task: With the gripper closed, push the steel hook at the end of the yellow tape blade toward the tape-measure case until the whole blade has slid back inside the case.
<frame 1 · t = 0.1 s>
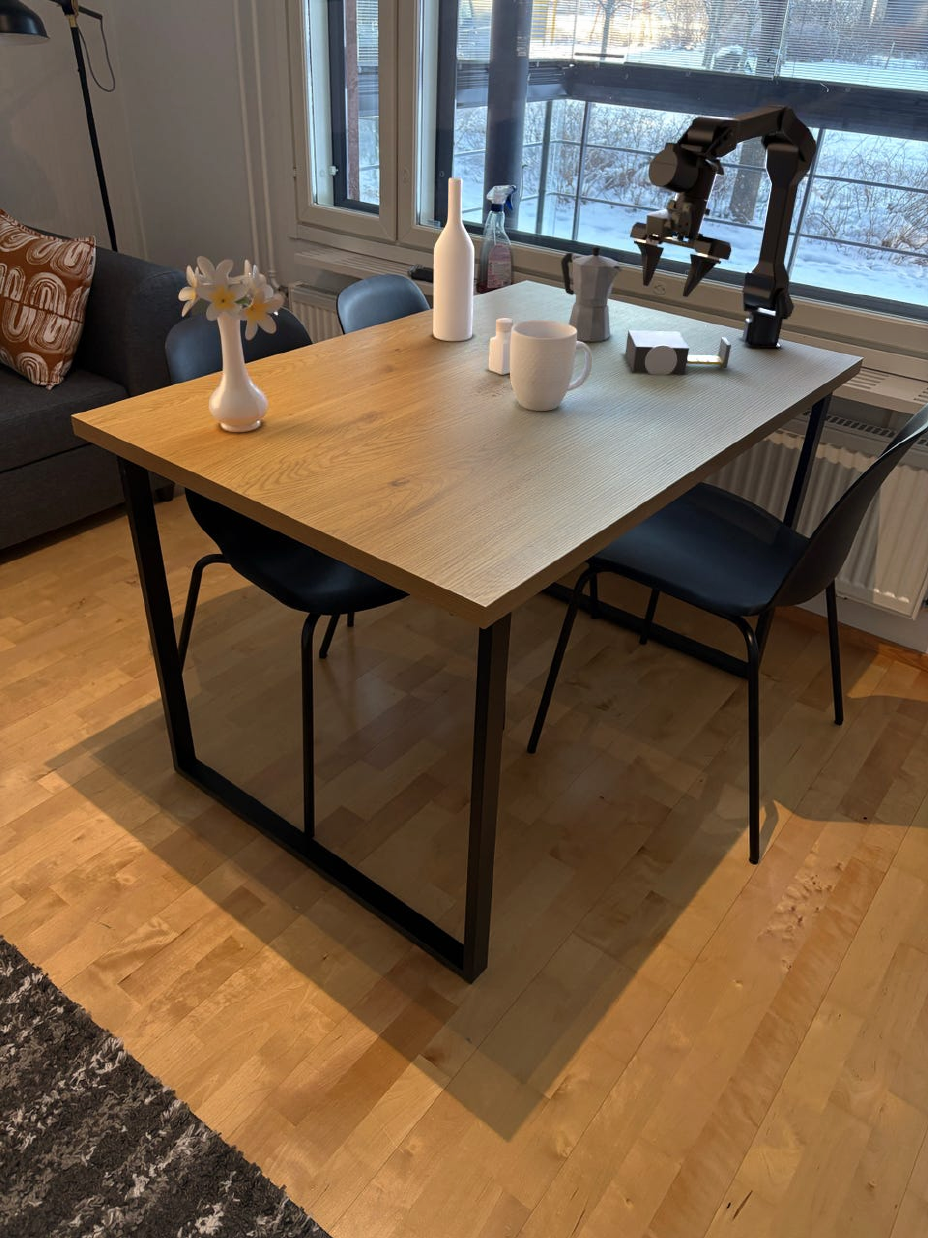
hand: (664, 290, 164), 15 cm above the table, tool pointing down, fingers open, 9 cm apart
coffeepot: (583, 335, 193), on the table
bottle: (452, 336, 190), on the table
flower vase: (245, 426, 146), on the table
pepper shaker: (502, 372, 172), on the table
mug: (544, 405, 158), on the table
tape case: (654, 364, 178), on the table
tape blade: (701, 352, 176), point 3 cm above the table, slide at 7.5 cm
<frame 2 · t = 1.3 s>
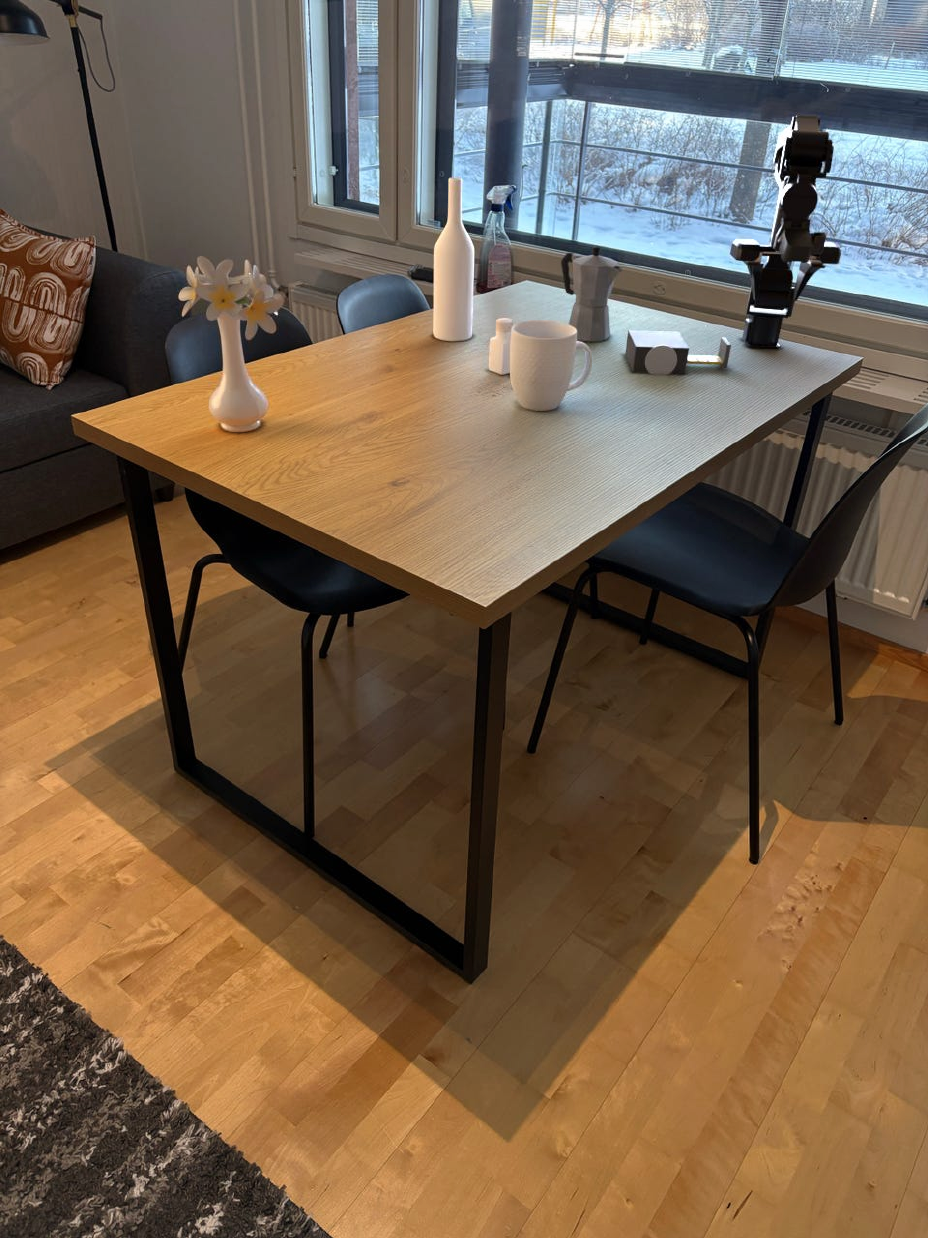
hand: (774, 299, 170), 13 cm above the table, tool pointing down, fingers open, 7 cm apart
nothing on the table moved.
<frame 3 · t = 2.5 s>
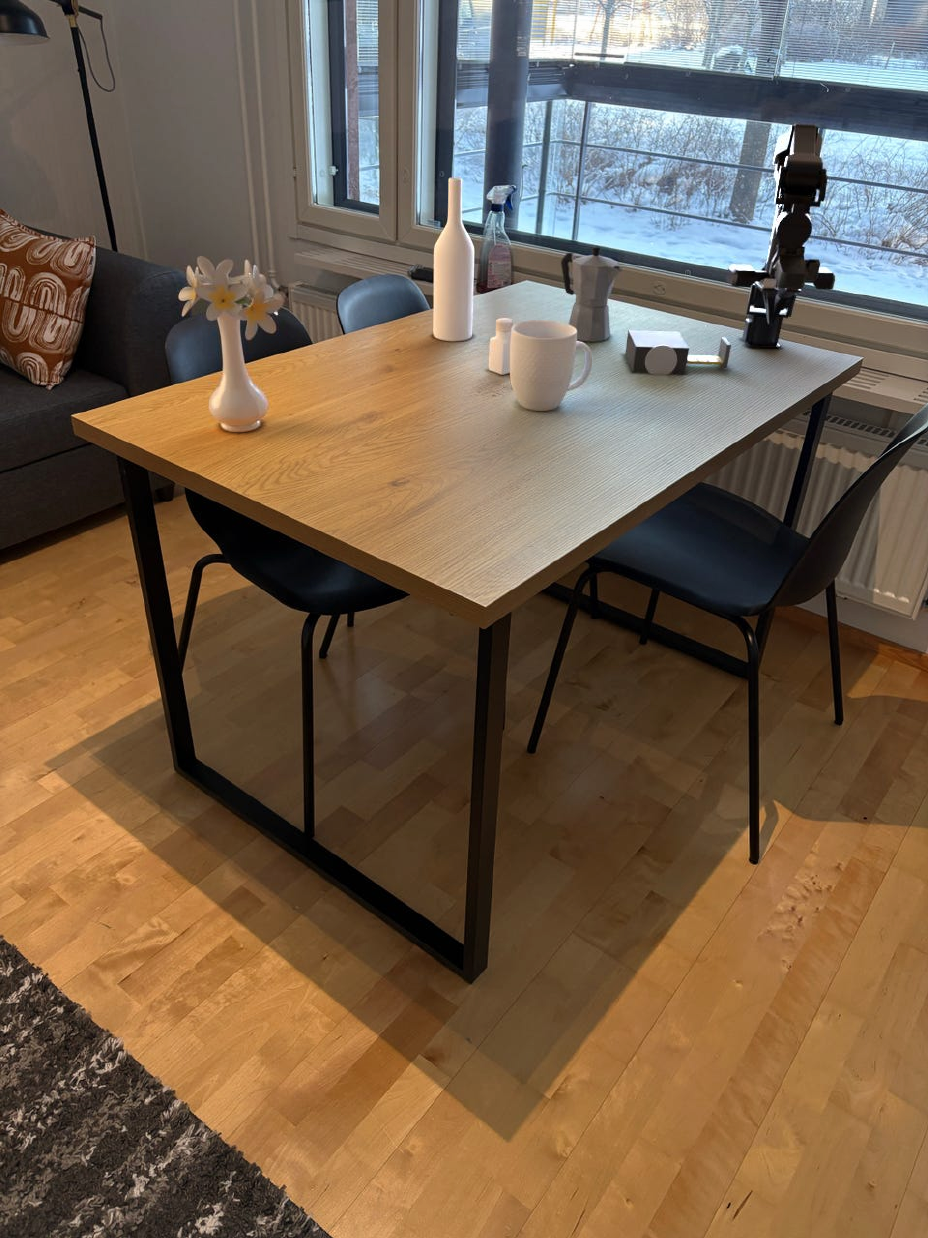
hand: (770, 323, 173), 8 cm above the table, tool pointing down, fingers closed
nothing on the table moved.
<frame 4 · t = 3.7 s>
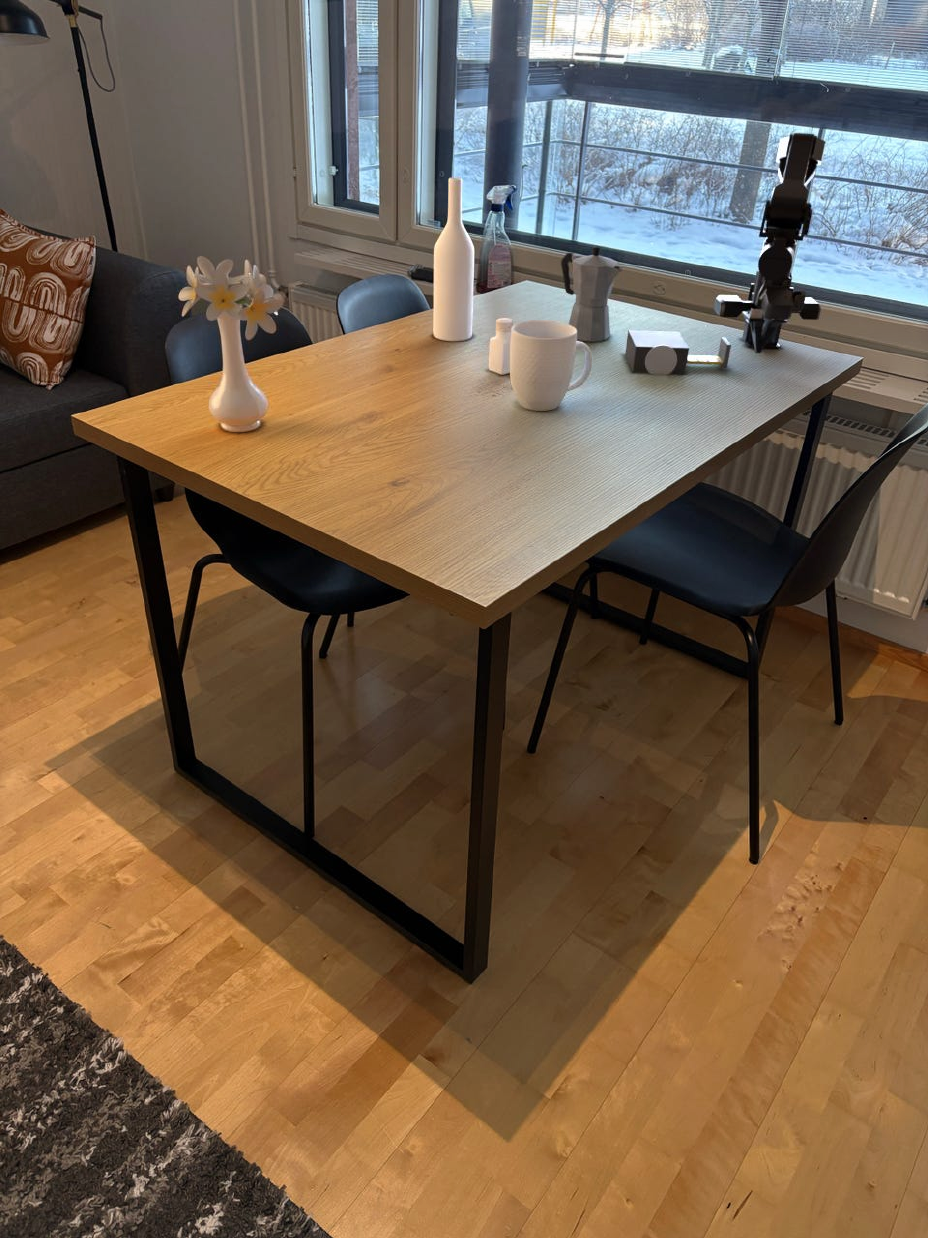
hand: (757, 352, 176), 3 cm above the table, tool pointing down, fingers closed
nothing on the table moved.
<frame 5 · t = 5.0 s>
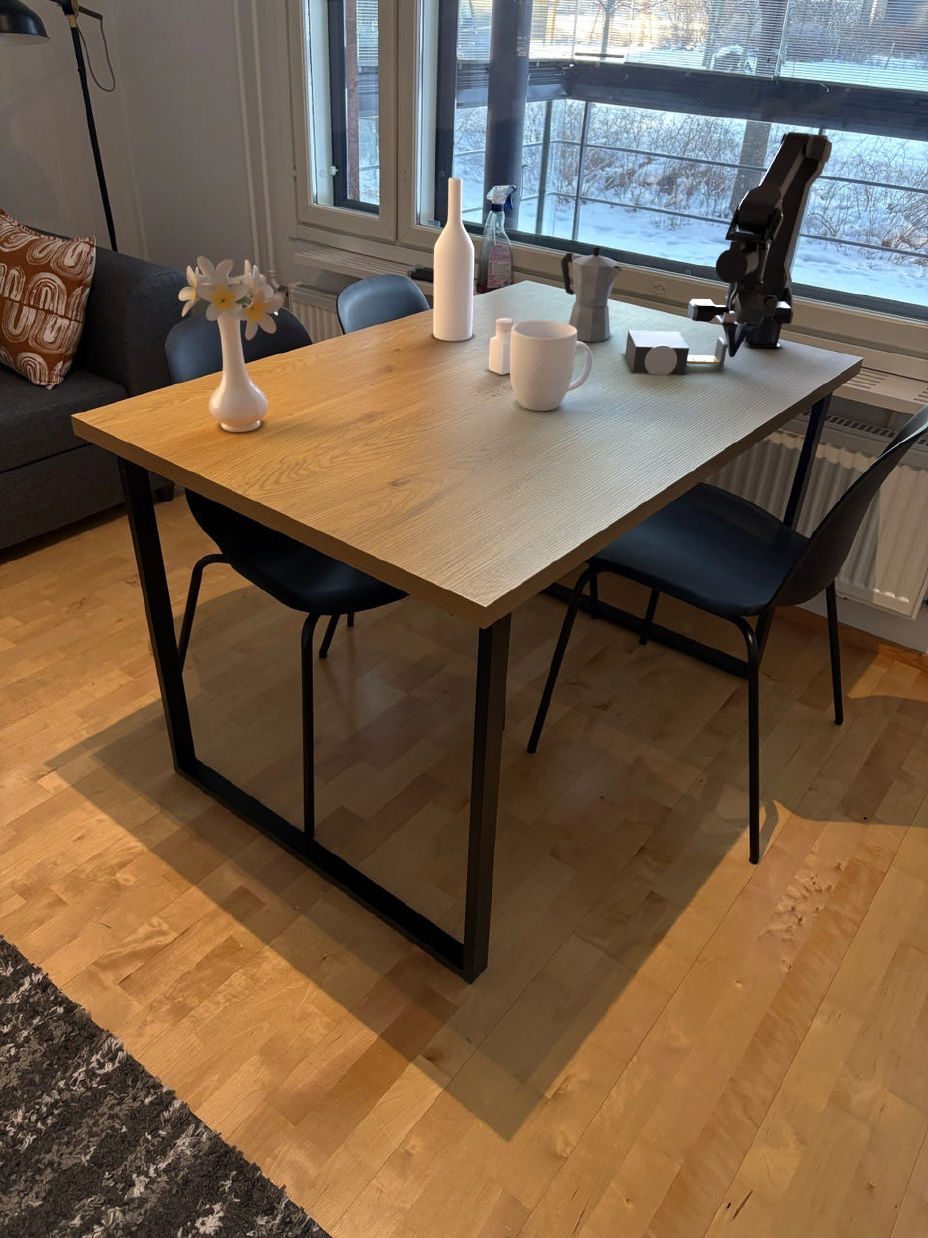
hand: (731, 356, 176), 2 cm above the table, tool pointing down, fingers closed
tape blade: (697, 351, 176), point 3 cm above the table, slide at 6.8 cm, touching gripper
everything else where it was.
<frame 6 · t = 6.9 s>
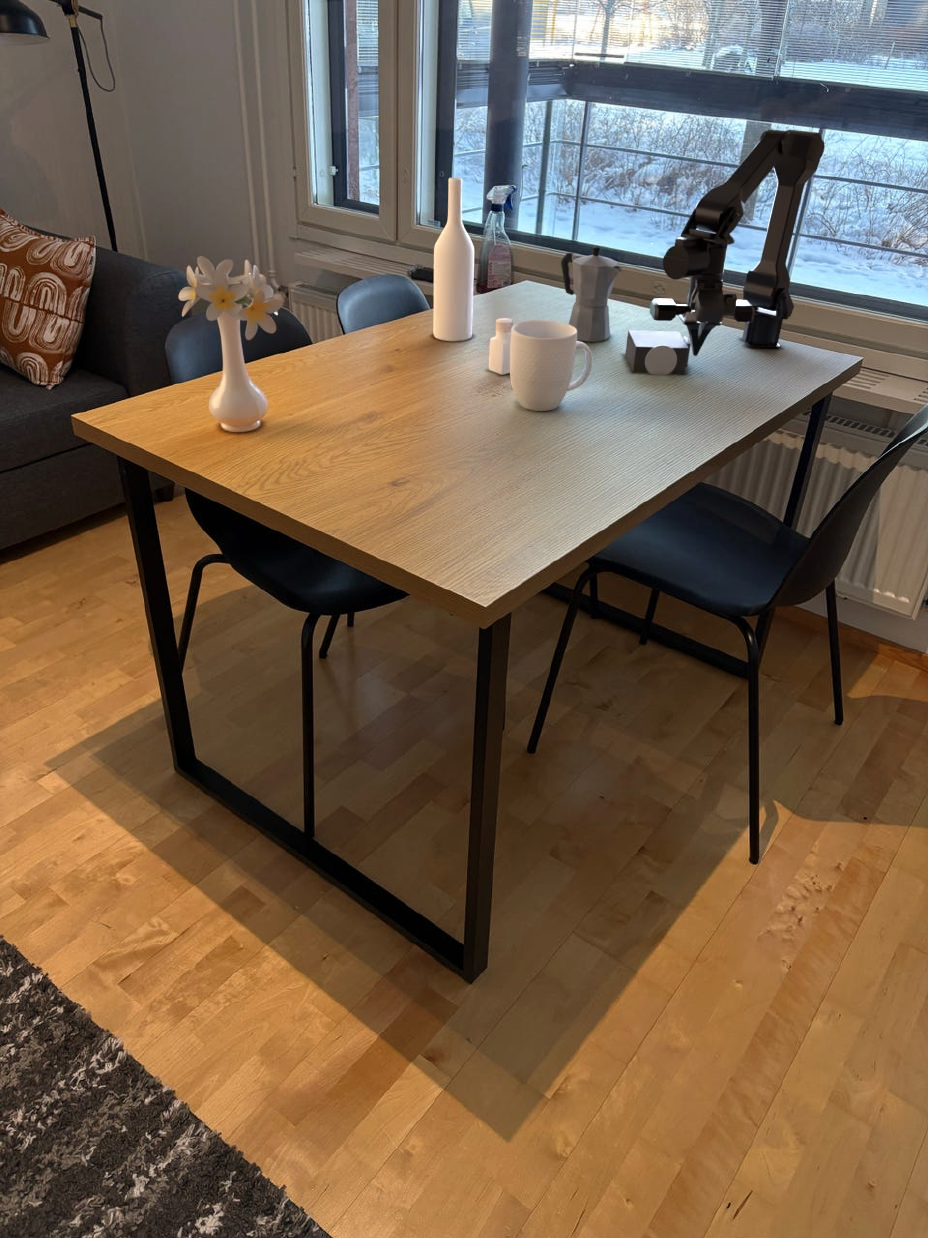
hand: (694, 355, 176), 2 cm above the table, tool pointing down, fingers closed
tape blade: (661, 350, 176), point 3 cm above the table, slide at -0.2 cm, touching gripper
everything else where it was.
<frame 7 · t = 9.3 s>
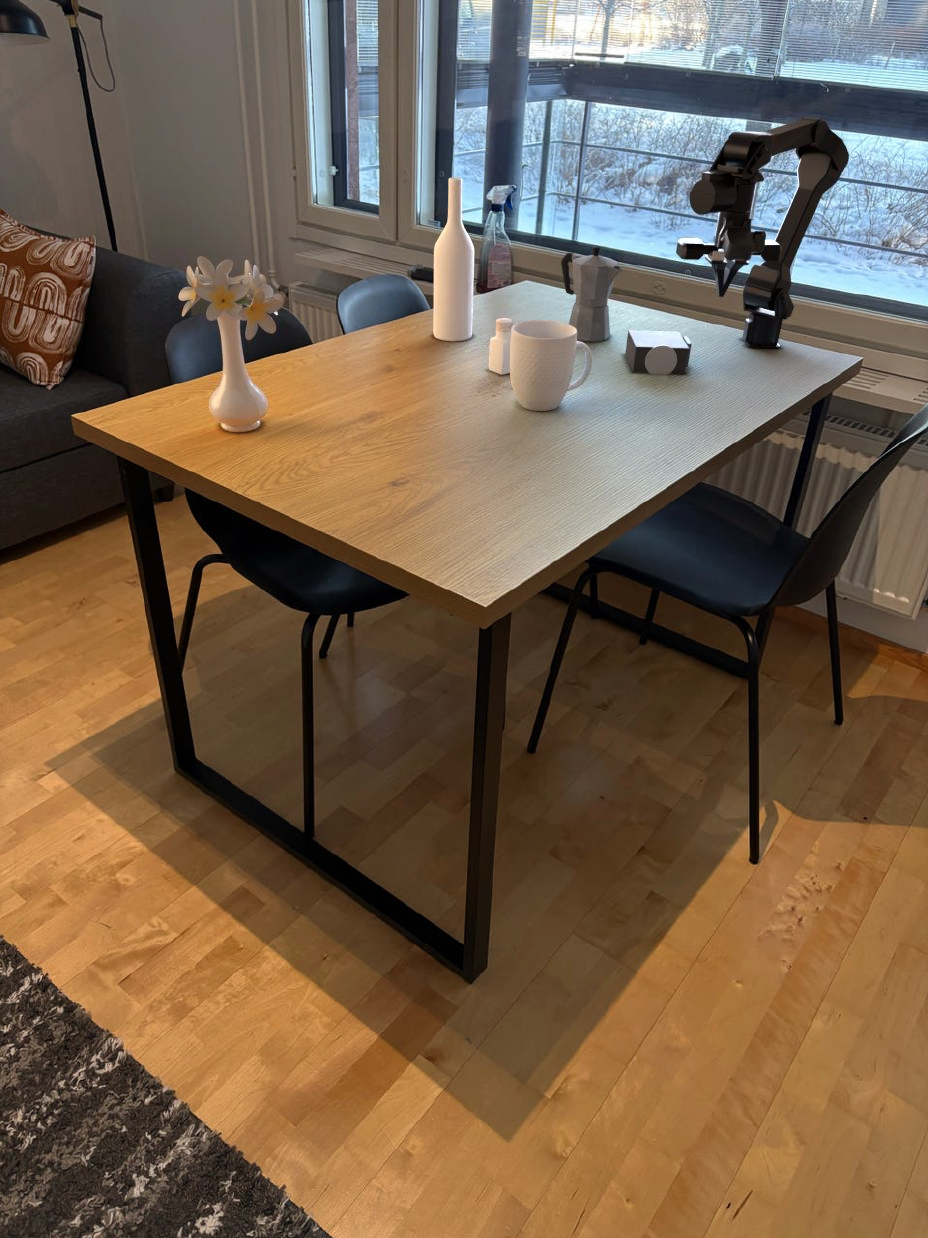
hand: (720, 296, 176), 12 cm above the table, tool pointing down, fingers closed
tape blade: (662, 350, 176), point 3 cm above the table, slide at 0.0 cm
everything else where it was.
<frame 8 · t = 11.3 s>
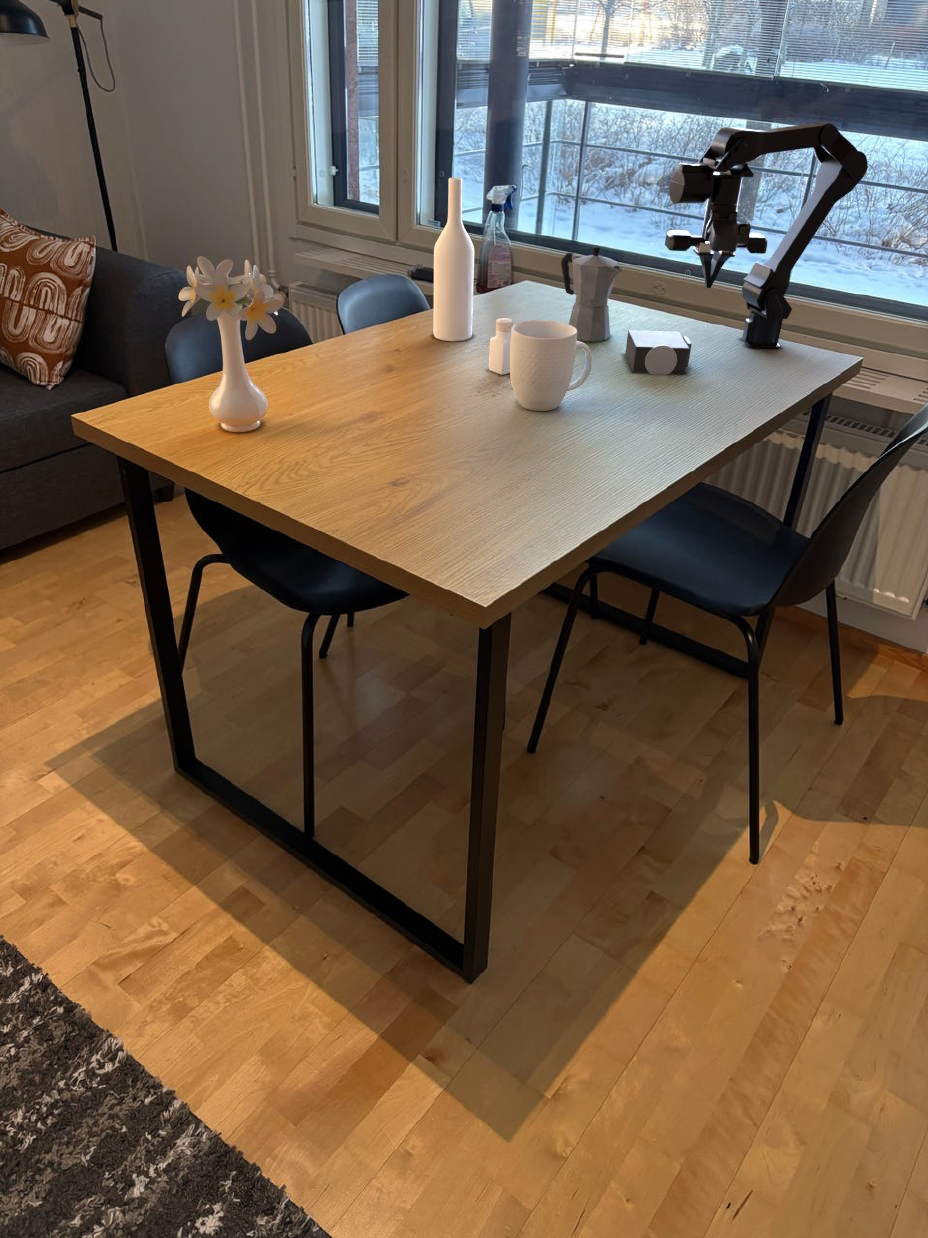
hand: (708, 287, 181), 12 cm above the table, tool pointing down, fingers closed
nothing on the table moved.
at the end: tape blade slide at 0.0 cm; coffeepot moved 0.2 cm from its start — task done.
